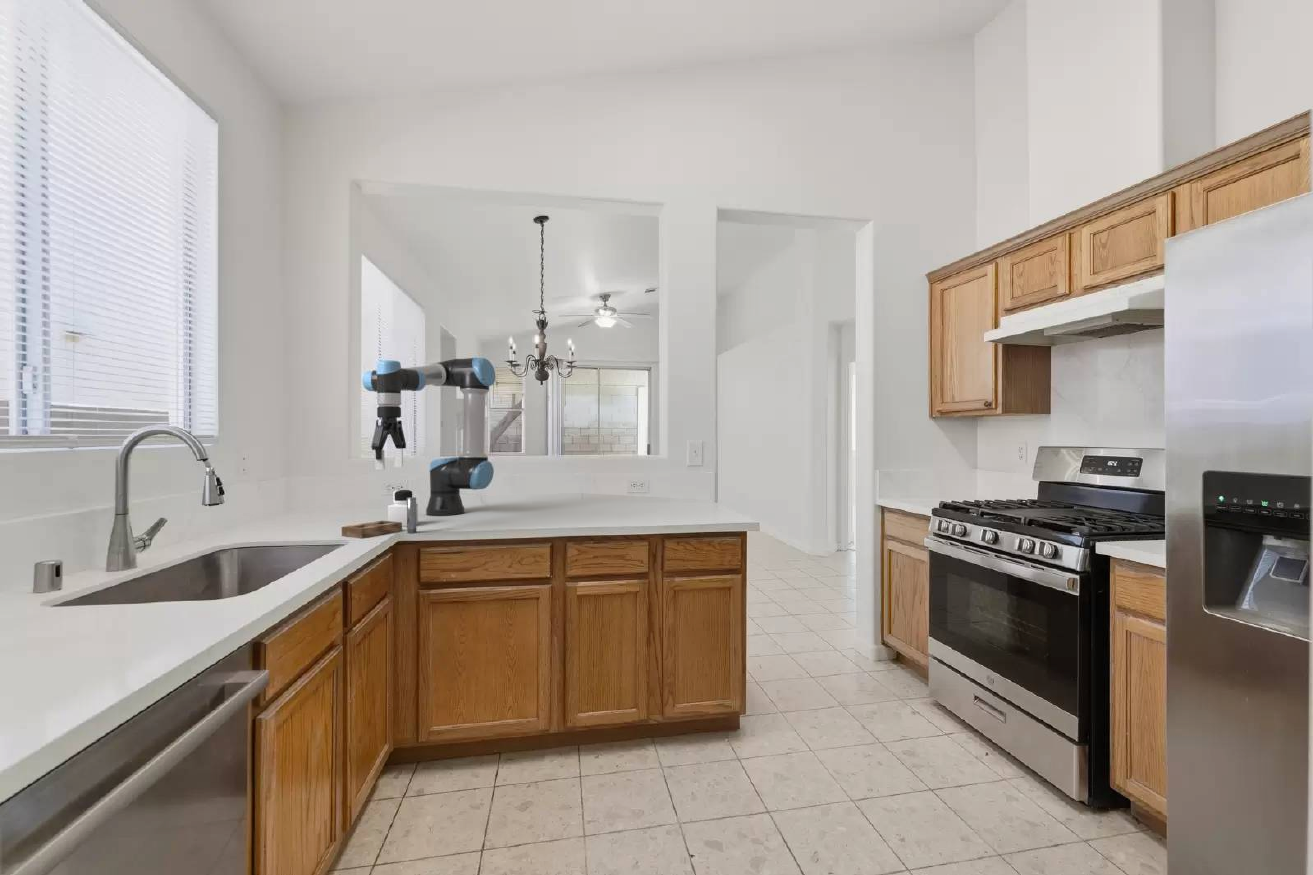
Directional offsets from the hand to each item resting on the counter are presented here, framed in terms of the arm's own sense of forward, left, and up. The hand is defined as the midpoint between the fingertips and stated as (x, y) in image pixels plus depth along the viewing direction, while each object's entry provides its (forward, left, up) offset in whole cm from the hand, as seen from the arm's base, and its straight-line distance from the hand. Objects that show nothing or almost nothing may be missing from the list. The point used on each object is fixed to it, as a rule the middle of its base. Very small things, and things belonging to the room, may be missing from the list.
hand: (389, 468), depth 213 cm
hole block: (+3, -6, -22) cm, 23 cm away
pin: (-4, +5, -22) cm, 23 cm away
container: (-14, -11, -22) cm, 28 cm away
